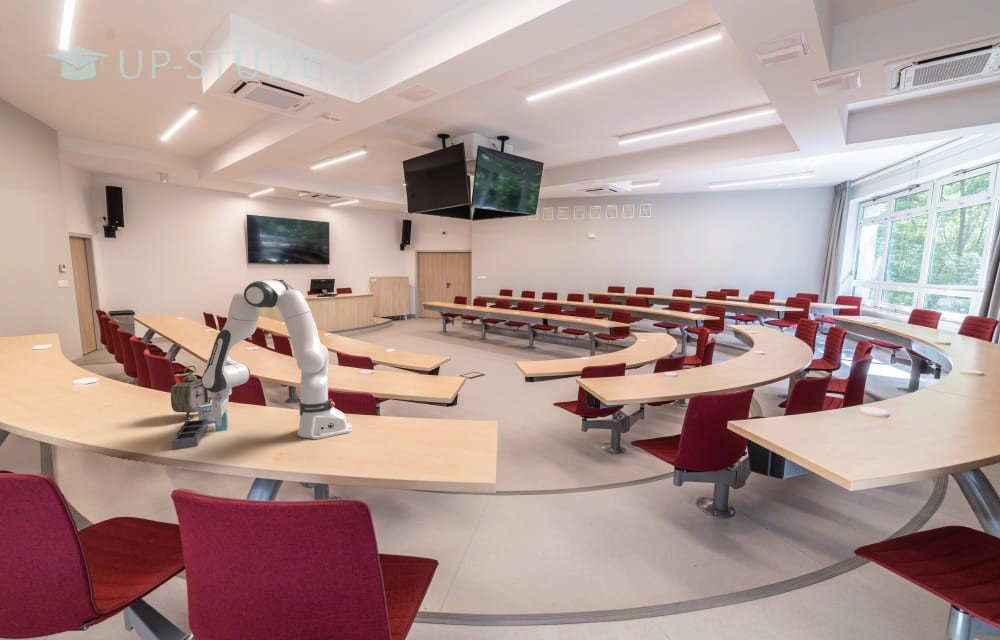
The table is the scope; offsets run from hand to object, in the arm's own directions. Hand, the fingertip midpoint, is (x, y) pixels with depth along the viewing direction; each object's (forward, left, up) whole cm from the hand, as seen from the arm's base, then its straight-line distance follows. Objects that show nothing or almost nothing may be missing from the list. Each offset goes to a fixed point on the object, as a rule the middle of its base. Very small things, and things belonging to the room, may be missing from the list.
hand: (220, 421), depth 184 cm
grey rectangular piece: (+10, +6, -4) cm, 12 cm away
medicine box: (+6, -12, -4) cm, 14 cm away
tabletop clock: (+15, -24, -4) cm, 29 cm away
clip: (0, 0, -4) cm, 4 cm away
